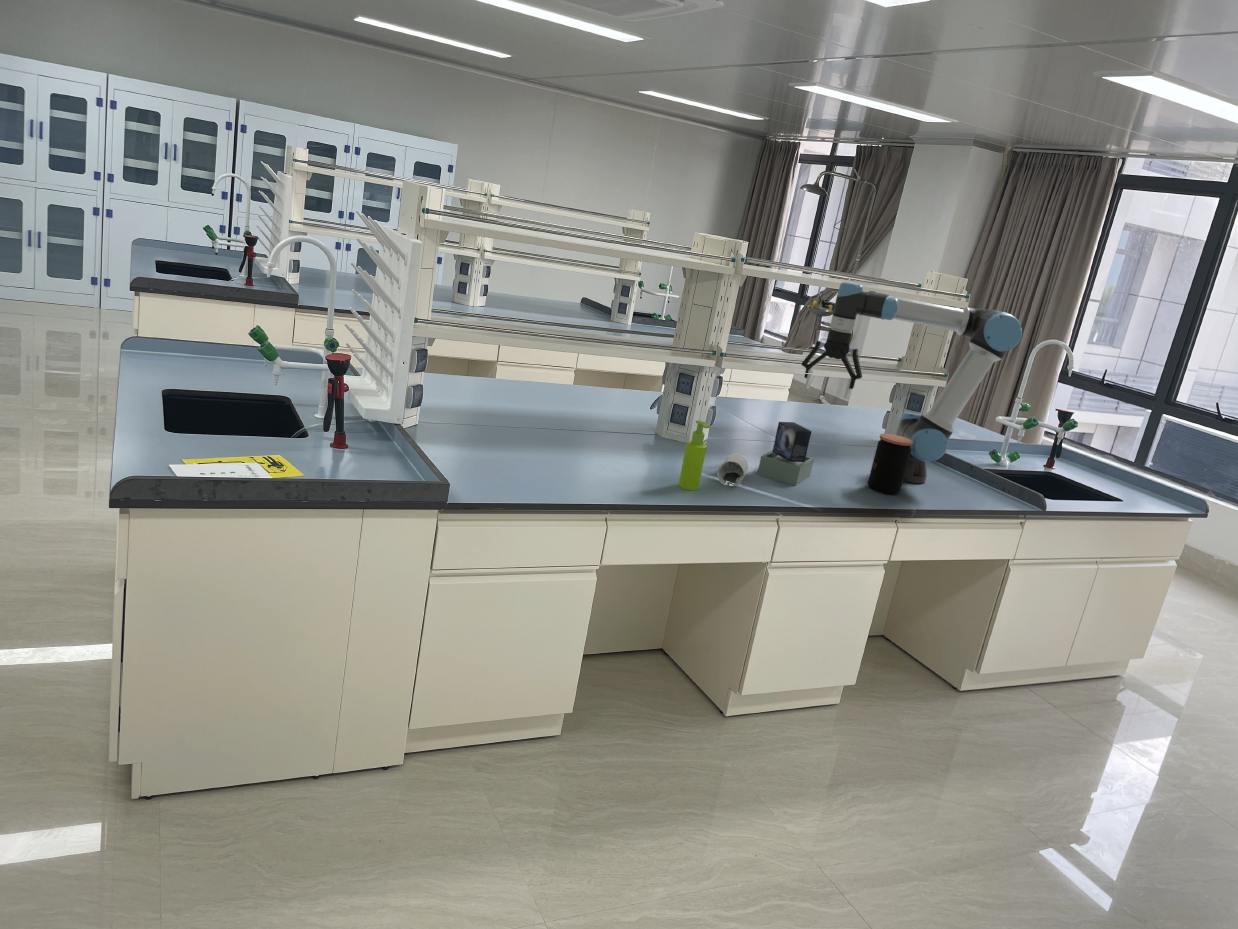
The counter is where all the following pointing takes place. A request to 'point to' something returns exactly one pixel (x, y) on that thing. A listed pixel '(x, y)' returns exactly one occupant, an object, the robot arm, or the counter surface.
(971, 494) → the counter surface
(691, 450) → the soap dispenser
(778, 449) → the small box
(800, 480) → the box
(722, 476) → the white bottle
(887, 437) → the coffee jar
